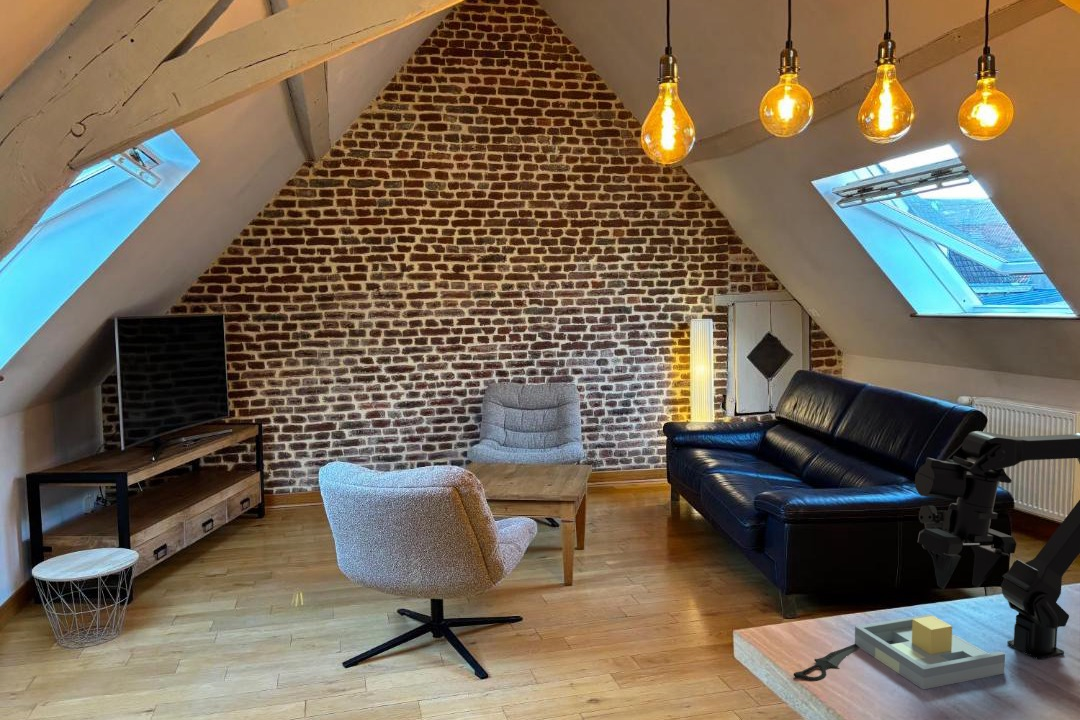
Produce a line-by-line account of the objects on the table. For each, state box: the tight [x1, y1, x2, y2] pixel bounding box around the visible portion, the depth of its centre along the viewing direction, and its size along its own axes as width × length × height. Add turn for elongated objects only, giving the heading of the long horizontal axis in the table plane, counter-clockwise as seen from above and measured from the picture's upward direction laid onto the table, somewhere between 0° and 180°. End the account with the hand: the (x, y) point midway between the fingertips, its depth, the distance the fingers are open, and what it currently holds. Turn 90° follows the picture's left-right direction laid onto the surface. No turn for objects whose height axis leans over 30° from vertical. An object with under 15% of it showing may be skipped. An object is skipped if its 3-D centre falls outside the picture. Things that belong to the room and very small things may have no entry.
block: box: [912, 615, 953, 654], centre depth 140 cm, size 4×4×4 cm
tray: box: [854, 613, 1006, 690], centre depth 140 cm, size 17×17×4 cm
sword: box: [793, 643, 861, 682], centre depth 141 cm, size 27×4×1 cm, turn 128°
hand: (958, 586), depth 141 cm, fingers open, 9 cm apart
